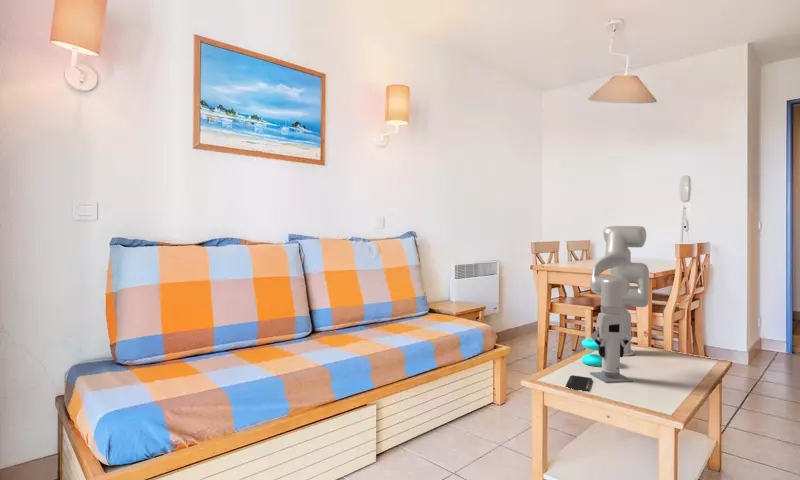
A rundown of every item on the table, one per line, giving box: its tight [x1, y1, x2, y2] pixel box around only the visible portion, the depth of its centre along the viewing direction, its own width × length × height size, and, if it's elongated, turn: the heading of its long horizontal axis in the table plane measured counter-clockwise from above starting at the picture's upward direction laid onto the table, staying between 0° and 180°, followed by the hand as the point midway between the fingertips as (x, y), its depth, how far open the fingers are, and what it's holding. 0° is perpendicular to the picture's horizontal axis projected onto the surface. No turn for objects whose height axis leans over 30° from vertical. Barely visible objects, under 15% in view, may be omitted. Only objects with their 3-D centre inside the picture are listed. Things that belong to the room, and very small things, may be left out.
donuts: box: [581, 338, 602, 367], centre depth 196 cm, size 10×10×10 cm
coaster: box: [589, 371, 634, 384], centre depth 177 cm, size 11×11×1 cm
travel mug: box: [601, 324, 621, 376], centre depth 177 cm, size 6×7×20 cm
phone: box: [565, 375, 593, 392], centre depth 170 cm, size 8×1×15 cm
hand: (611, 356), depth 177 cm, fingers closed on travel mug, 6 cm apart
